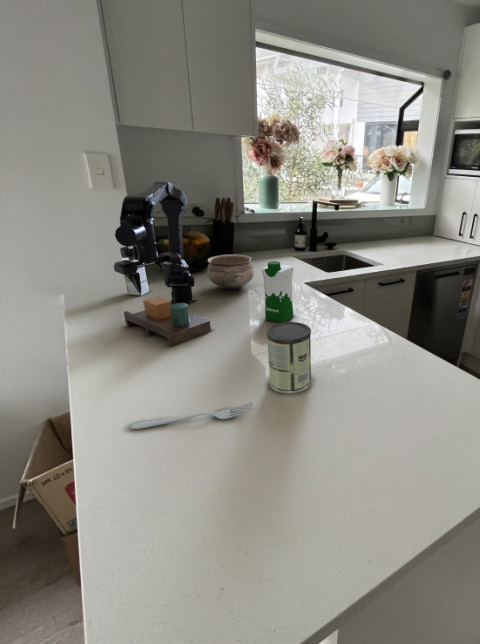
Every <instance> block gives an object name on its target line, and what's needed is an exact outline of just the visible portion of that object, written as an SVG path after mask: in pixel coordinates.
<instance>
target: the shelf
mask: <svg viewBox="0 0 480 644" xmlns="http://www.w3.org/2000/svg"><path fill="white" fill-rule="evenodd" d="M123 315H124V320H125V325H126V327H127V328H130V327H133V326H139V327H142V328H145V329H144V330H145V333H146V336H147V337H152V336H154V335H157V334H158V335H160V336H162V337H165V338H167V343H168V346H169V347H174V346H176V345H180V344H182V343H184V342H187V341H189V340H192V339H194V338H196V337H199V336H202V335H204V334H206V333H209V332H211V331H212V326H211V321H210V320H209V319H206V318H204V317H200V316H198V315H195V314H193V313H190V312H189V318H190V324H189V325H188V326H185V327H174V326H173V325H172V319H171V316H170V317H167V318H164V319H161V320H156V319H154V318H152V317H149V316H147V315H146V312H145V309H144V310H141V311H138V312H135V313H133V312H130V311H128V310H126V311H123Z"/></svg>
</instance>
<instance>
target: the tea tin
mask: <svg viewBox="0 0 480 644" xmlns="http://www.w3.org/2000/svg"><path fill="white" fill-rule="evenodd" d="M188 305H189V304H188V303H187V304H186V303H173V304H171V306H170V312H171V319H172V325H173V326H174V327H185V326H188V325H189V324H190V318H189V313H190V311H189V306H188Z"/></svg>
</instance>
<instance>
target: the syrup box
mask: <svg viewBox="0 0 480 644" xmlns="http://www.w3.org/2000/svg"><path fill="white" fill-rule="evenodd" d="M124 260H128V261H129V258H120V261H124ZM137 261H138V260H134V259H133V260H132V262H137ZM143 264H144V263H143ZM145 267H146V266H145ZM145 267H140V268H138V270H137V271H136V272H138V273H139V274H140V282H141V293H138V291H137V290H136V288H135V286H134V285H133V283H132V282H131V280H130V279H129V278H128V277H127V276H126V275H123V277H124V281H125V285H126V291H127V295H129V296H144V295H146V294H147V293H149V292H150V289H149V284H148V278H147V274H146V268H145Z"/></svg>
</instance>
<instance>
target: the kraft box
mask: <svg viewBox="0 0 480 644" xmlns="http://www.w3.org/2000/svg"><path fill="white" fill-rule="evenodd" d="M171 305H172V302H171V300H169V299H166V298H163V297H160V296H154V297H151V298H148V299H144V300H143V306H144V310H145V312H146V315H147V316H149V317H152V318H154V319H156V320H161V319H164V318H167V317H170V316H171V312H170V306H171Z"/></svg>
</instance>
